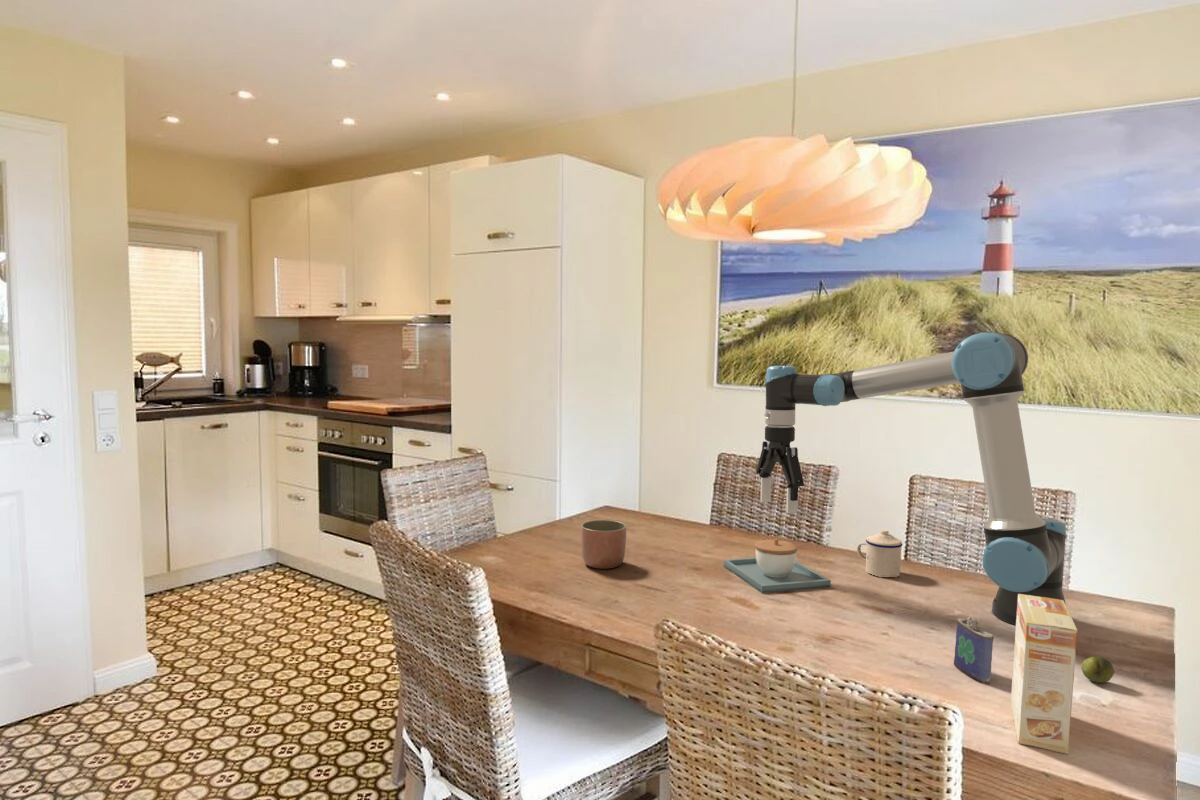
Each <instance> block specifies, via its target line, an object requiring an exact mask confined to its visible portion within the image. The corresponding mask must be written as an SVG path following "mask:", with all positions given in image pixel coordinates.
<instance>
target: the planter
mask: <svg viewBox="0 0 1200 800" xmlns="http://www.w3.org/2000/svg"><path fill="white" fill-rule="evenodd" d="M580 533H581V534H580V538H581V539H580V540H581V544H580V545H581V555H582V561H583V562H584V563H585V565H587V566H588V567H590V568H593V569H600V570H602V569H603V570H604V569H605V570H607V569H613V568H614V569H615V568H617V567H619V566H621V565H622V563H623V562H624V559H625V557H626V555H625V554H626V545H627V544H626V543H627V542H626V541H627V524H625V523H624V522H622V521H618V520H610V519H597V520H596V519H595V520H588V521H585V522H582V524H580Z"/></svg>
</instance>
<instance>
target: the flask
mask: <svg viewBox="0 0 1200 800" xmlns="http://www.w3.org/2000/svg"><path fill="white" fill-rule="evenodd" d="M980 622H981V620H980V618H975V617H970V616H969V617H967V618H958V619H957V620H956V632H955V647H954V657H953V659H954V660H953V665H954V667H955V668H956V669H957V670H958V671H960V672H961V673H964V675H965V676H967V677H969V678H970V679H972V680H974V681H975V682H978V683H980V684H982V685H988V684H991V681H992V661H993V644H994V635H993V634H992V633H989V632H988V631H985V629H982V628H981V627H979V623H980Z"/></svg>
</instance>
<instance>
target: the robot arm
mask: <svg viewBox="0 0 1200 800" xmlns="http://www.w3.org/2000/svg"><path fill="white" fill-rule="evenodd" d="M1028 365H1029V353H1028V351H1027V348H1026V346H1025V345H1024V343H1023V342H1022V341H1021V340H1020V339H1018V338H1017V337H1015V336H1014V335H1011V334H1008V333H1001V332H997V333H996V332H992V331H987V332H985V331H984V332H979V333H976V334H972V335H970V336H968V337H966V338H965V339H963V340H962V341H961V342H960V343H959V344H957V346H956V347H955V349H954V351H951V352H945V353H940V354H939V353H938V354H935V355H933V354H932V355H928V356H921V357H918V358H913V359H907V360H903V361H902V360H901V361H897V362H890V363H885V364H881V365H875V366H869V367H864V368H860V369H854V370H848V371H843V372H842V371H841V372H838V373H837V372H836V373H825V374H824V373H822V374H821V373H820V374H801V373H797V368H796V366H793V365H771V366H768V368H767V369H766V375H765V383H764V384H765V413H764V418H765V419H764V420H765V421H764V423H765V425H766V426H765V427H764V440H765V441H762V448H761V452H760V456H759V459H758V463H757V467H756V470H755V472H756V474H758V475H759V478H760V501H759V502H760V503H771V502H772V477H773V476H772V472H773V470H774V468H775V466H776V464H777V463H778V465H780V466H781V469H782V471H783V474H784V476H785V478H786V483H787V486H786V505H785V507H786V508H785V510H786V511H785V513H786V514H797V513H798V506H799V505H798V499H799V488H800V487H803V486H804V485H805V483H804V478H803V474H802V469H801V465H800V461H799V451H798V450H799V449H798V447H797V446H795V447H791V443H792V442H794V441H795V439H796V428H795V427H794V426H795V425H796V405H797V404H798V405H799V404H802V405H812V406H822V407H827V406H828V407H829V406H832V407H834V406H839V405H840V404H841V403H845V402H846V403H847V402H850V401H855V400H861V399H867V398H873V397H879V396H885V395H891V394H899V393H905V392H911V391H917V390H926V389H929V388H930V389H931V388H937V387H944V386H949V385H956V384H960V387H961V393H962V399H963V401H965V402H966V403H967V404H969V405H970V406H971V408H972V412H973V419H974V425H975V431H976V433H975V434H976V438H977V444H978V451H979V456H980V463H981V464H980V465H981V469H982V476H983V482H984V488H985V494H986V495H985V496H986V501H987V507H988V508H987V509H988V513H989V518H988V519H987V520H986V522H985V523H984V524H983V531H984V538H985V539H984V541H985V545H986V547H985V548H984V550H983V554H982V565H983V566H982V567H983V569H984V571H985V573H986V575H987V577H988V578H989V579H990V580H991V581H992V582H993V583H994V584H995V585H997V587H998V589H997V593H996V596H995V597H994V599H993V600H992V605H991V608H992V609H991V613H992V614H993V615H994V616H995V618H998V619H1000V620H1001V621H1004V622H1006V623H1007V624H1008V623H1009V624H1012V625H1014V626H1016V617H1017V601H1018V594H1024V595H1031V596H1038V597H1047V598H1053V599H1059V600H1063V601H1064V603H1065V605H1066V606H1067V604H1066V599H1065V596H1064V595H1065V594H1064V591H1063V580H1064V566H1065V551H1066V539H1067V538H1068V535H1067V531H1066V529H1067V527H1066V525H1065V523H1064V522H1062V521H1059V520H1056V519H1050V518H1045V517H1040V516H1038V515H1037V513H1036V508H1035V501H1034V495H1033V488H1032V483H1031V478H1030V471H1029V470H1030V469H1029V464H1028V458H1027V452H1026V446H1025V440H1024V432H1023V428H1022V420H1021V416H1020V409H1019V402H1018V401H1019V399H1021V397H1022V396H1023V395H1024V393H1025V388H1024V381H1023V380H1024V379H1023V375H1024V373H1025V372H1026V370H1027V368H1028Z"/></svg>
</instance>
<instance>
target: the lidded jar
mask: <svg viewBox="0 0 1200 800" xmlns="http://www.w3.org/2000/svg"><path fill="white" fill-rule="evenodd" d="M754 548H755V550H754V551H755V557H756V562H757V565H758V567H759V568H760V570H761V571H762V572H763V574H764V575H766V576H769V577H774V578H782V577H786V576H787V574H788V573H790V572H791V571H792V569H793V568H794V565H795V562H796V561H797V552H798V546H797V545H796V544H795V543H792V542H789V541H787V540H781V539H780V540H779V538H774V539H764V540H758V541H756V542H755V544H754Z"/></svg>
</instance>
